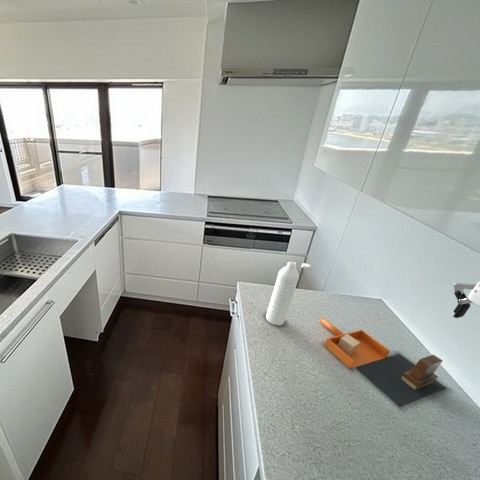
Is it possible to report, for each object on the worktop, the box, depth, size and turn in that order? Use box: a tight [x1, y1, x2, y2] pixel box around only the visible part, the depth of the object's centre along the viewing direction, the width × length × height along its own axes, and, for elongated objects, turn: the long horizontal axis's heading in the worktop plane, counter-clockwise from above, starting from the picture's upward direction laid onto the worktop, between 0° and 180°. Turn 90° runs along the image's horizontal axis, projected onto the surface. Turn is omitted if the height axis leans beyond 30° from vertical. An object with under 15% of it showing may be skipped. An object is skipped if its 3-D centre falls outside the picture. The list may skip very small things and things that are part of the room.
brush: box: [401, 354, 443, 390], centre depth 73 cm, size 8×4×9 cm, turn 107°
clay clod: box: [337, 333, 360, 355], centre depth 84 cm, size 4×4×4 cm
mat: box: [354, 353, 447, 408], centre depth 76 cm, size 20×12×1 cm, turn 107°
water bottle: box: [265, 260, 311, 326], centre depth 91 cm, size 9×6×25 cm
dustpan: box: [320, 317, 391, 369], centre depth 88 cm, size 18×16×3 cm
